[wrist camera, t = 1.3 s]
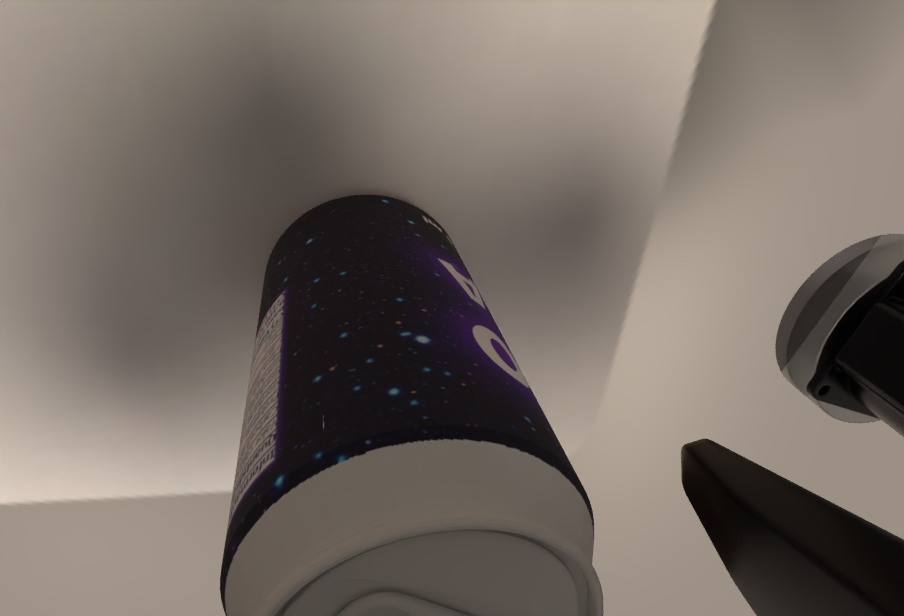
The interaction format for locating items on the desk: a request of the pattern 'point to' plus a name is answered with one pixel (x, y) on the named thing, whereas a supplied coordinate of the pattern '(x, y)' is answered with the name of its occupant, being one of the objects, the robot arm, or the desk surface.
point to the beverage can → (395, 440)
